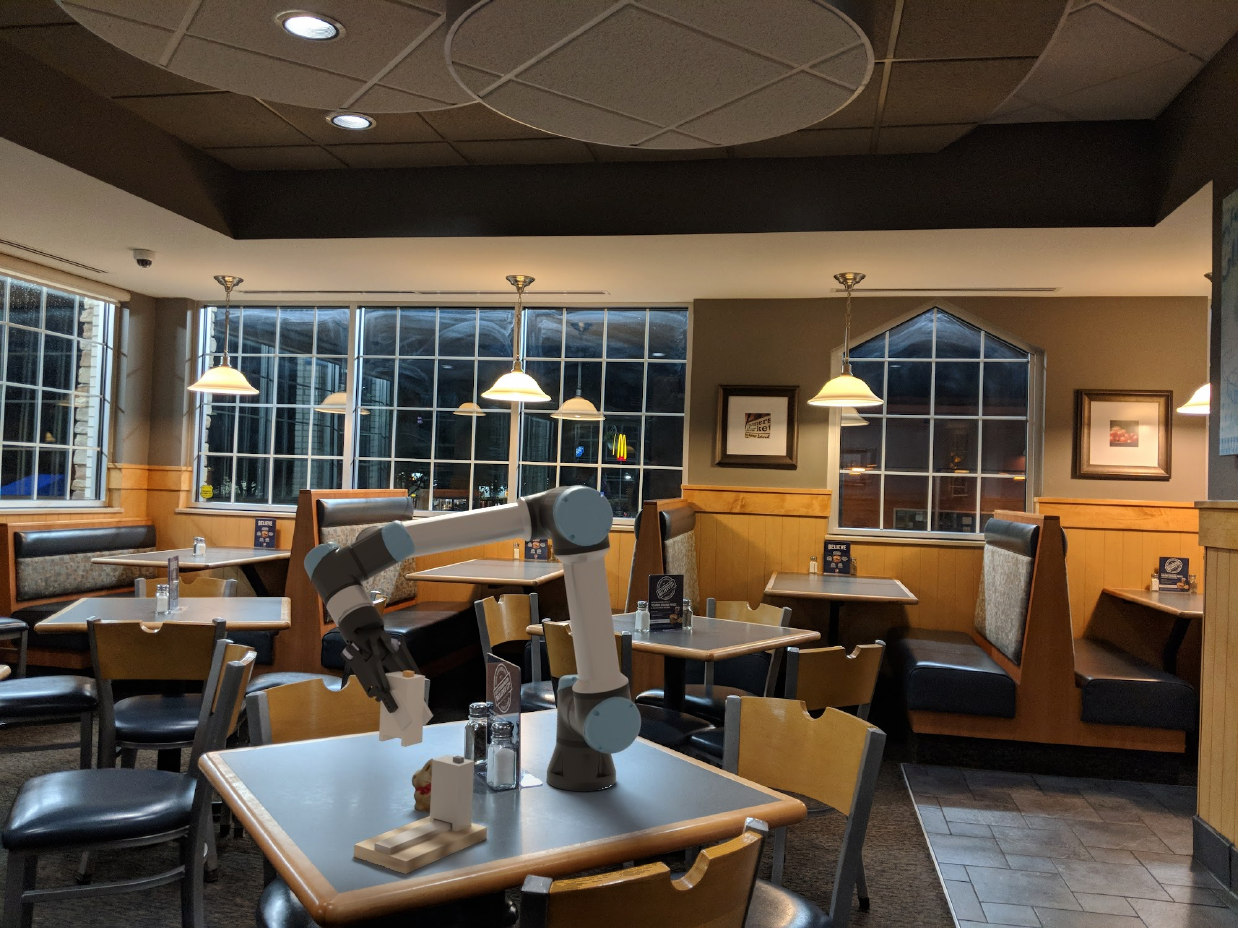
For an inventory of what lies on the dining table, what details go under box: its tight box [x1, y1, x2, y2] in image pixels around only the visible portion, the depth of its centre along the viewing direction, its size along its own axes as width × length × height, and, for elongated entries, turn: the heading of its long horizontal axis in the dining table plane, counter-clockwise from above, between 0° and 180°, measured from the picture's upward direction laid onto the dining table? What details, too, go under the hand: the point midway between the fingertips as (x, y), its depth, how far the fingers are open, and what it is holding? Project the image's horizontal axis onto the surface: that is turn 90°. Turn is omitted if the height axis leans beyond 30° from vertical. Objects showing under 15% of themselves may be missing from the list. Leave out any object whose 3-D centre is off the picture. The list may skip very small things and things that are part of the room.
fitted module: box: [429, 754, 475, 831], centre depth 167 cm, size 6×4×12 cm, turn 58°
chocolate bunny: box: [411, 758, 434, 814], centre depth 181 cm, size 6×8×10 cm
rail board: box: [353, 815, 488, 875], centre depth 161 cm, size 20×12×3 cm, turn 148°
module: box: [378, 670, 426, 748], centre depth 161 cm, size 6×4×12 cm, turn 57°
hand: (417, 723), depth 159 cm, fingers closed on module, 4 cm apart
